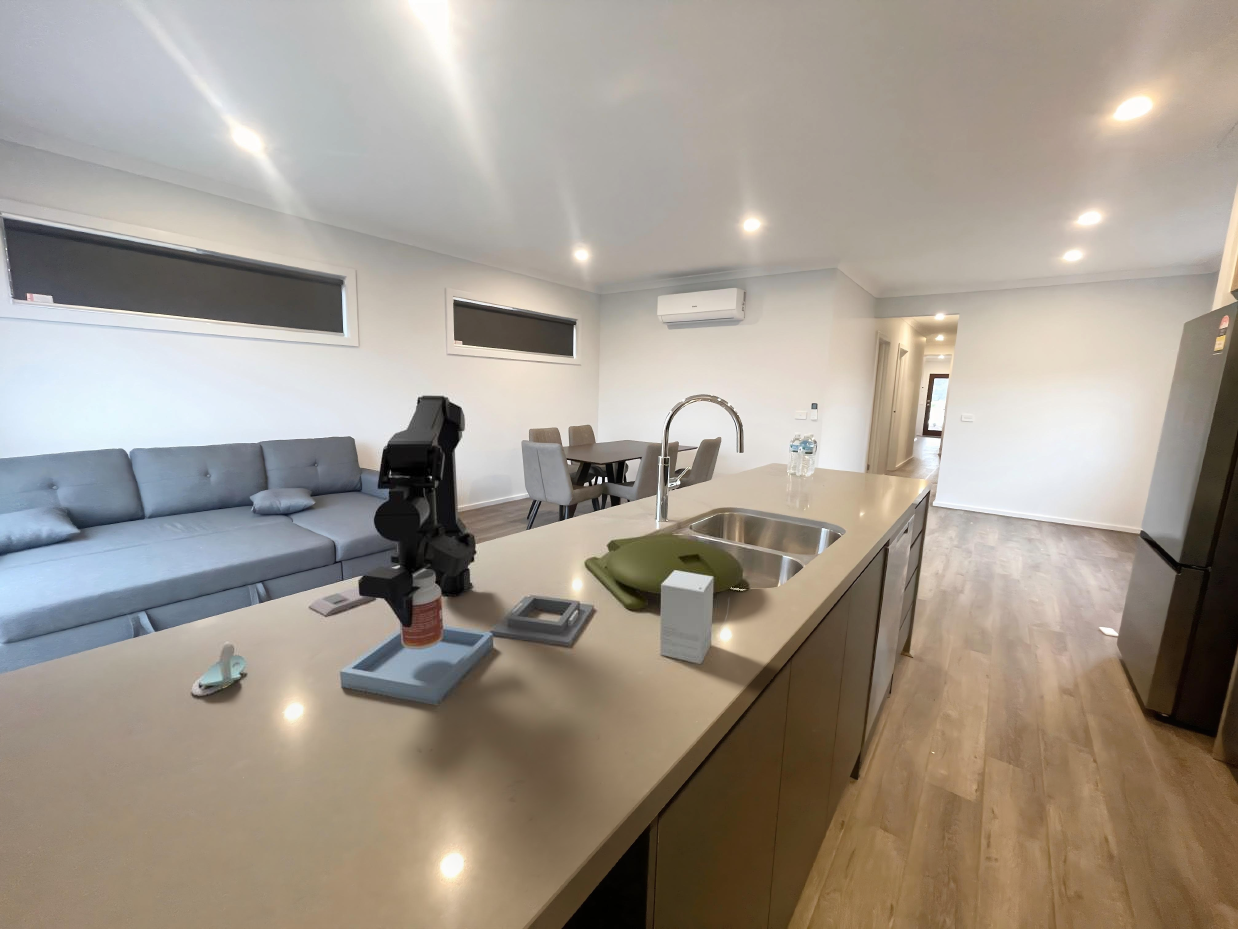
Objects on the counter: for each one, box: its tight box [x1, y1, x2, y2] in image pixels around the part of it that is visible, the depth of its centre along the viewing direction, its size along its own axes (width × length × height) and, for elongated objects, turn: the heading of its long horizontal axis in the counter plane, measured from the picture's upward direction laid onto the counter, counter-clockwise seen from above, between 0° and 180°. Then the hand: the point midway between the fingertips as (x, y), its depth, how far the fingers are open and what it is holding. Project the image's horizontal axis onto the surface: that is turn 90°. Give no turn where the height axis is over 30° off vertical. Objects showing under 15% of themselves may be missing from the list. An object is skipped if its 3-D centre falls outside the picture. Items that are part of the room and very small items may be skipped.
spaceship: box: [583, 533, 750, 611], centre depth 112 cm, size 35×31×10 cm
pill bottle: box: [399, 569, 444, 650], centre depth 75 cm, size 6×6×11 cm
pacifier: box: [190, 641, 247, 697], centre depth 71 cm, size 7×6×6 cm
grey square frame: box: [489, 594, 595, 648], centre depth 92 cm, size 15×15×2 cm
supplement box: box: [659, 570, 714, 665], centre depth 82 cm, size 7×7×13 cm
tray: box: [339, 625, 494, 706], centre depth 77 cm, size 16×16×2 cm
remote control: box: [308, 586, 375, 617], centre depth 99 cm, size 7×16×3 cm, turn 146°
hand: (420, 616), depth 76 cm, fingers closed on pill bottle, 6 cm apart
